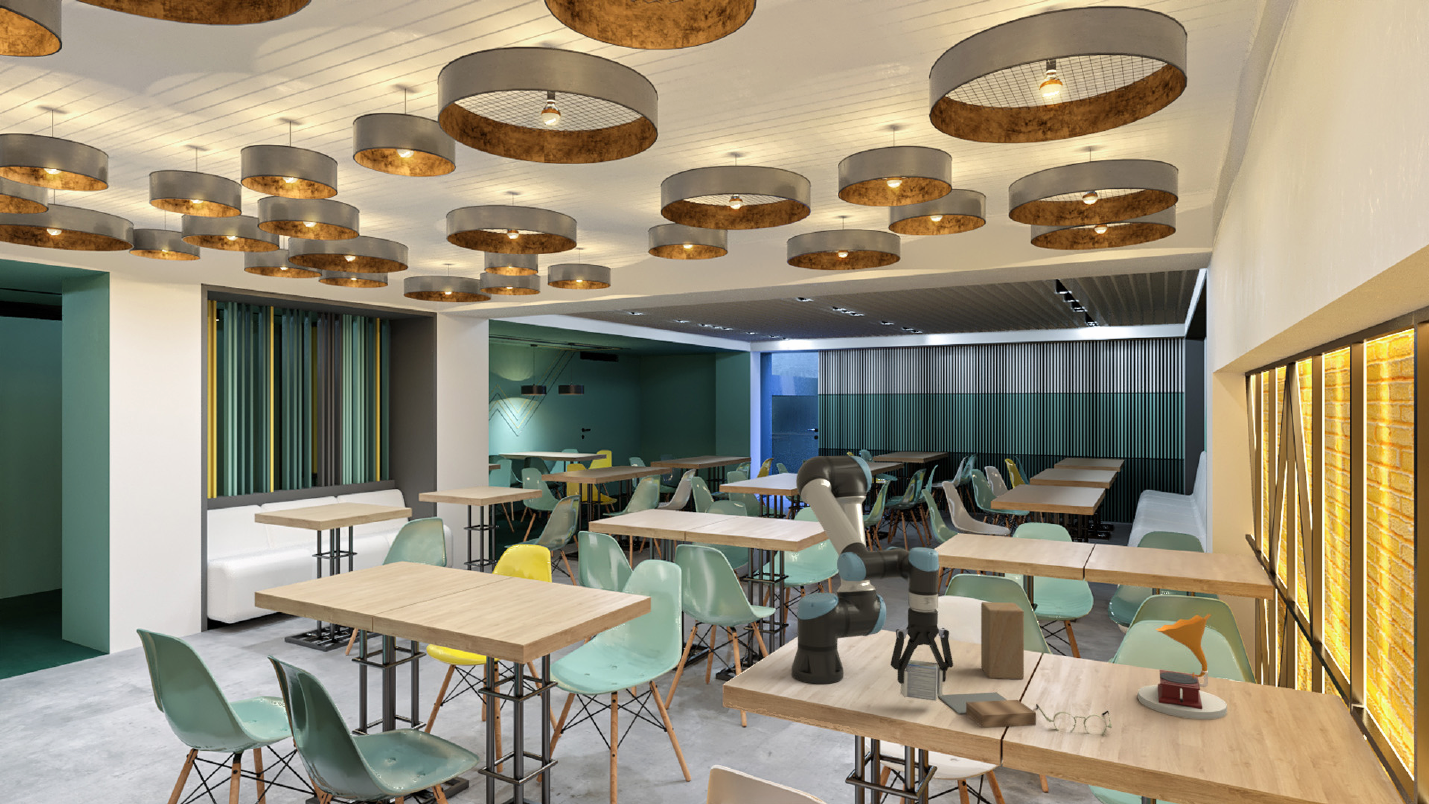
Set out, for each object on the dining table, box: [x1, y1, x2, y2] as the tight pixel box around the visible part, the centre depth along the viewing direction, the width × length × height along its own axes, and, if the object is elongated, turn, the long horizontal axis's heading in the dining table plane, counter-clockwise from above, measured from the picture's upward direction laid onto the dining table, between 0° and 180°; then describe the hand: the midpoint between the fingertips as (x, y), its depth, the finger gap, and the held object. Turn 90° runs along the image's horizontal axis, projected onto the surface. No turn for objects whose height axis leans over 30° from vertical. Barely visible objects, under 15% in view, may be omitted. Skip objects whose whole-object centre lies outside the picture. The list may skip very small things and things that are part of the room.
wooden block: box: [980, 601, 1025, 680], centre depth 239 cm, size 10×10×20 cm
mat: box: [937, 691, 1008, 715], centre depth 214 cm, size 17×13×1 cm
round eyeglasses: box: [1035, 703, 1113, 736], centre depth 202 cm, size 17×15×5 cm
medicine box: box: [905, 659, 939, 702], centre depth 210 cm, size 8×4×9 cm, turn 71°
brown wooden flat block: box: [965, 699, 1037, 728], centre depth 203 cm, size 14×9×3 cm, turn 98°
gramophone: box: [1137, 613, 1228, 720], centre depth 214 cm, size 20×20×25 cm
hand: (921, 694), depth 210 cm, fingers closed on medicine box, 9 cm apart
